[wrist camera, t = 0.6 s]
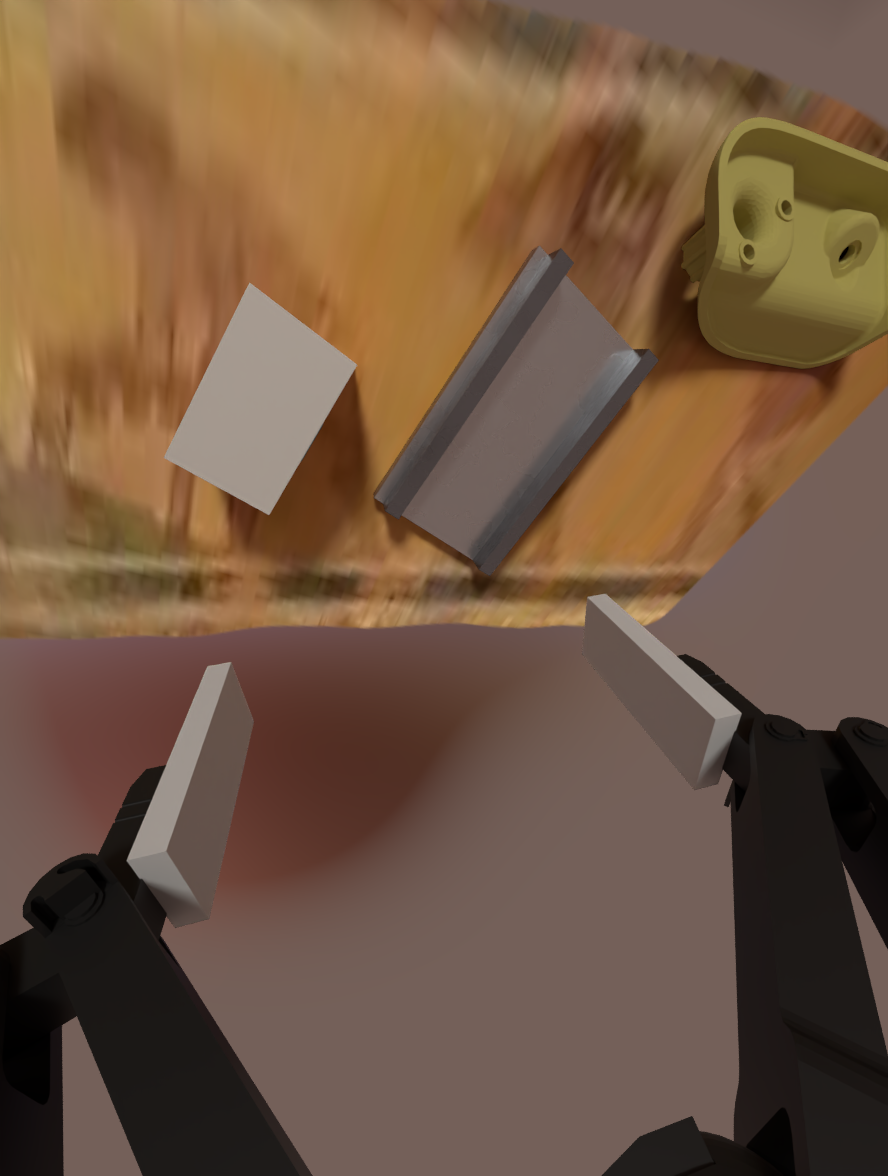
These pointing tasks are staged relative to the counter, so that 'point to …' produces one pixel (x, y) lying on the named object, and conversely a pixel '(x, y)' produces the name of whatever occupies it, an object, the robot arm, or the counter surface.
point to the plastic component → (791, 247)
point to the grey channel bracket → (514, 415)
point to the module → (259, 403)
